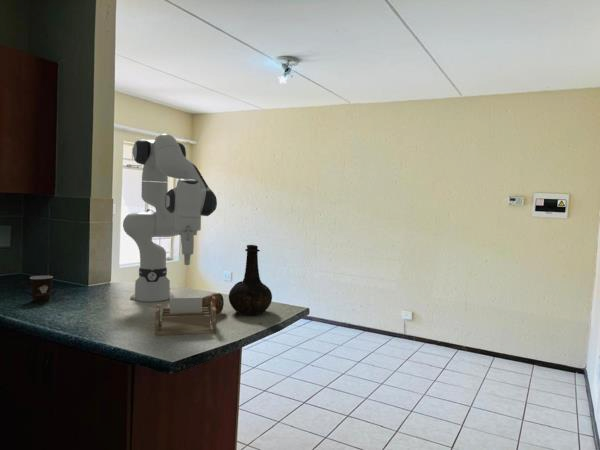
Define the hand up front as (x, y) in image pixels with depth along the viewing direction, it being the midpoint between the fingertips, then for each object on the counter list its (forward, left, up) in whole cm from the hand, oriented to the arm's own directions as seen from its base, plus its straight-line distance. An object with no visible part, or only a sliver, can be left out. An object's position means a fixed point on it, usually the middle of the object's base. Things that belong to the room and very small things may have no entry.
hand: (186, 264), depth 157 cm
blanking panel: (0, 0, -22) cm, 22 cm away
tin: (-17, +10, -23) cm, 30 cm away
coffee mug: (-51, -61, -23) cm, 83 cm away
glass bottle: (-20, +26, -23) cm, 40 cm away
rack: (0, 0, -23) cm, 23 cm away
